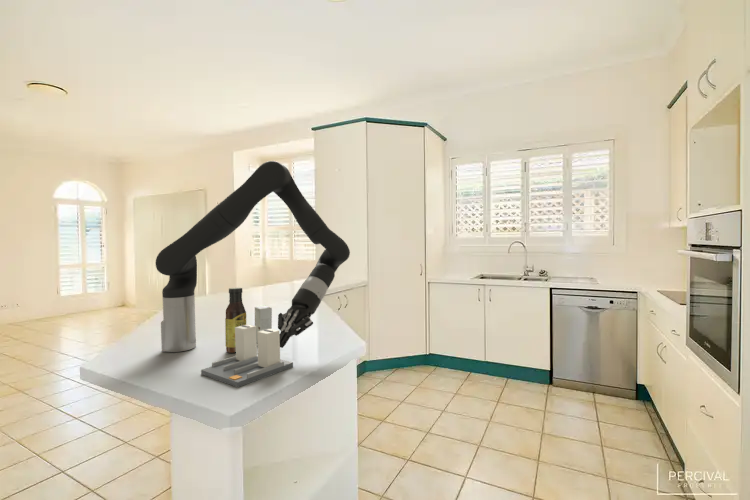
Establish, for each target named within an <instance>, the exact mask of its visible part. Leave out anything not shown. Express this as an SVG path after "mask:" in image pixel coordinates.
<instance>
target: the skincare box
mask: <svg viewBox="0 0 750 500" xmlns="http://www.w3.org/2000/svg"><path fill="white" fill-rule="evenodd" d="M272 312H273V309H272V307H270V306H268V305H258V306H254V326H256V344H258V340H257V332H259V331H263V330H267V329H273V328H272V325H273V324H272V323H273V321H272V318H273V313H272Z"/></svg>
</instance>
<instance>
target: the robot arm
mask: <svg viewBox="0 0 750 500" xmlns="http://www.w3.org/2000/svg"><path fill="white" fill-rule="evenodd" d="M293 178H294V177H293V176H292V175H291V172H290V170H289V169H288V168H287V167H286V166H285V165H283V163H280V162H279V161H276V160H268V161H265V162H263V163H262V164H261V165H259V167H257V168H256V170H255V171H253V173H252V174H251V175H250V176H249V177H248V178H247V179H246V181H244V182H243V183H242V184H241V185H240V186H239V187H238V188H237V189H236V190H234V191H233V192H231V194H229V195H228V196H227V197H225V199H223V200H222V201H220V203H217V205H216V206H215V207H214V208H212V209H211V210H210V211H208V213H207V214H206V215H204V217H202V218H201V219H200V220H199V221H198V222H196V223H195V224H194V225H193V226H192V227H191V228H190V229H189V230H188V231H186V232H185V233H184V234H183V235H182V236H180V237H179V238H178V239H176V240H175V241H173V242H171V243H170V244H168V245H167V246H165V247H164V248H163V249H162V250H160V251H159V253H158V254H157V256H156V258H155V268H156V270H157V271H158V272H159V273H160V274H162V275H164V276H168V277H169V278H168V282H167V284H166V285H165V286H164V287H163V288H162V291H161V292H162V316H163V317H162V319H163V320H162V321H160V338H161V340H160V341H161V343H160V345H161V352H166V353H179V352H186V351H189V350H192V349H195V348H196V347H197V332H196V330H197V329H196V302H195V300H196V298H195V296H196V295H195V292H196V291H195V289H196V287H197V283H198V282H197V280H198V263H197V262H198V260H197V255H198V254H199V253H200V252H202V251H203V250H205V249H207V248H209V247H211V246H212V245H216V244H217V243H219V242H220V241H222V240H223V239H225V238H227V237H228V236H229V235H231V234H232V233H234V232H235V230H237V229H238V228H239V227H240V226H241V225H242V224H243V223H244V222H245V221H246V220H247V218H248V217H249V216H250V214H251V212H252V210H253V209H254V208H255V206H256V205H257V204H259V202H260V201H262V200H263V199H265V198H266V197H267V196H268V195H271V193H274V194H275V195H276V196H277V197H279V199H281V201H283V203H284V204H285V205H286V206H287V208H288V209H289V211H290V212H291V214H292V216H293V217H294V219H295V220H296V222H297V224H298V226H299V227H300V228H301V230H302V231H303V232H304V234H305V235H306V237H307V238H308V239H309V240H310V241H311V243H312V244H314V245H321V246H322V247H323V248H324V250H323V252H322V253H321V254H320V257H319V258H318V260H317V262H316V265H315V266H314V267H313V269H312V270H311V272H310V273H309V275H308V276H307V278H306V279H305V281H303V282H302V284H301V285H300V287H299V289H298V290H297V291H296V294H295V295H294V296H293V298H292V300H291V306H290V307H289V308H288V309H287V310H286V312H285V313H282V312H280V313H278V314H277V316H278V317H277V330H279V334H280V349H283V348H284V347H285V346H286V344H287V343H288V341H289V340H290V338H292V337H294V336H295V337H296V336H299V335H301V333H303V332H305V331H306V330H307V329H309V328H310V327H312V326H313V324H314V322H313V321H312V319H311V317H312V315H314V314H315V313H316V311H317V309H318V308H319V306H320V304H321V303H322V301H323V299H324V298H325V296H326V294H327V291H328V290H329V287H330V286H331V284H332V282H333V281H334V279H335V274H336V271H337V270H338V268H339V267H340V266H341V265H342V264H344V263H345V262H346V261H347V260H348V259H349V258H350V255H351V254H350V253H351V251H350V247H349V246H348V244H347V243H346V242H345V241H344V240H343V239H342V238H341V237H340V236H339V235H338V234H337V233H335V232H334V231H332V230H331V228H329V227H328V226H327V224H326V223H325V222H324V220H323V219H322V218H321V216H320V215H319V214H318V212H317V210H315V209H314V208H313V206H312V205H311V204H310V203H309V202H308V201H307V199H306V198H305V196H304V195H303V194H302V192H301V191H300V189H299V187H298V186H297V184H296V181H295V180H294V179H293Z"/></svg>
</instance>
